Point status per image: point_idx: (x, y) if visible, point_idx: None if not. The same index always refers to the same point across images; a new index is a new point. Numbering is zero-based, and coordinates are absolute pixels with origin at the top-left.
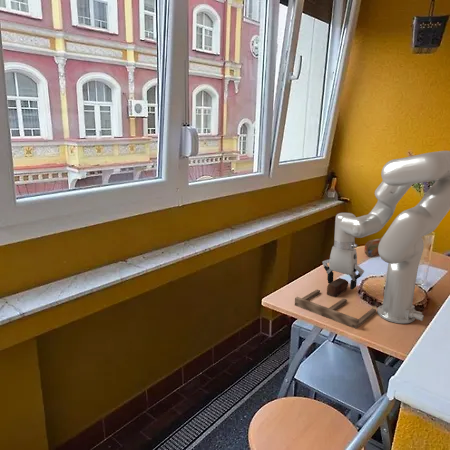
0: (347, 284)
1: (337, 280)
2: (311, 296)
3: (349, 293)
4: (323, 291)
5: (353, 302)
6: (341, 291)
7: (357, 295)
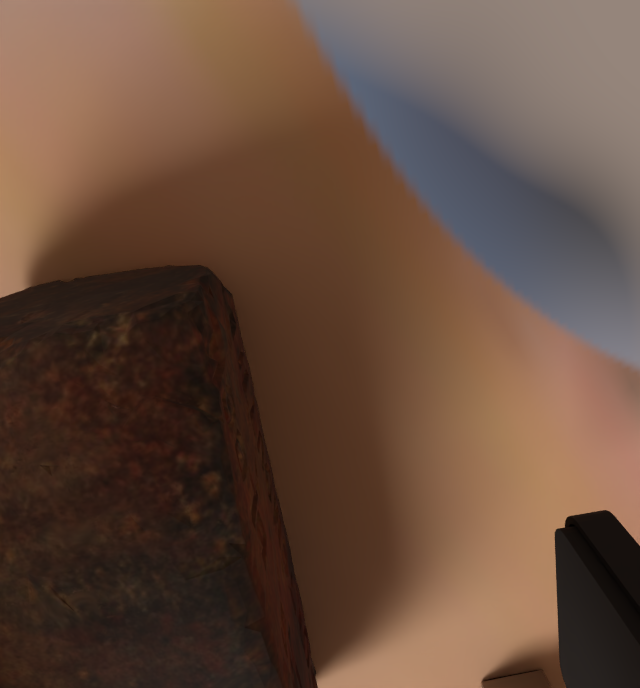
0: (222, 331)
1: (49, 675)
2: None
3: (377, 382)
4: None
5: None
6: (279, 533)
7: (535, 326)
